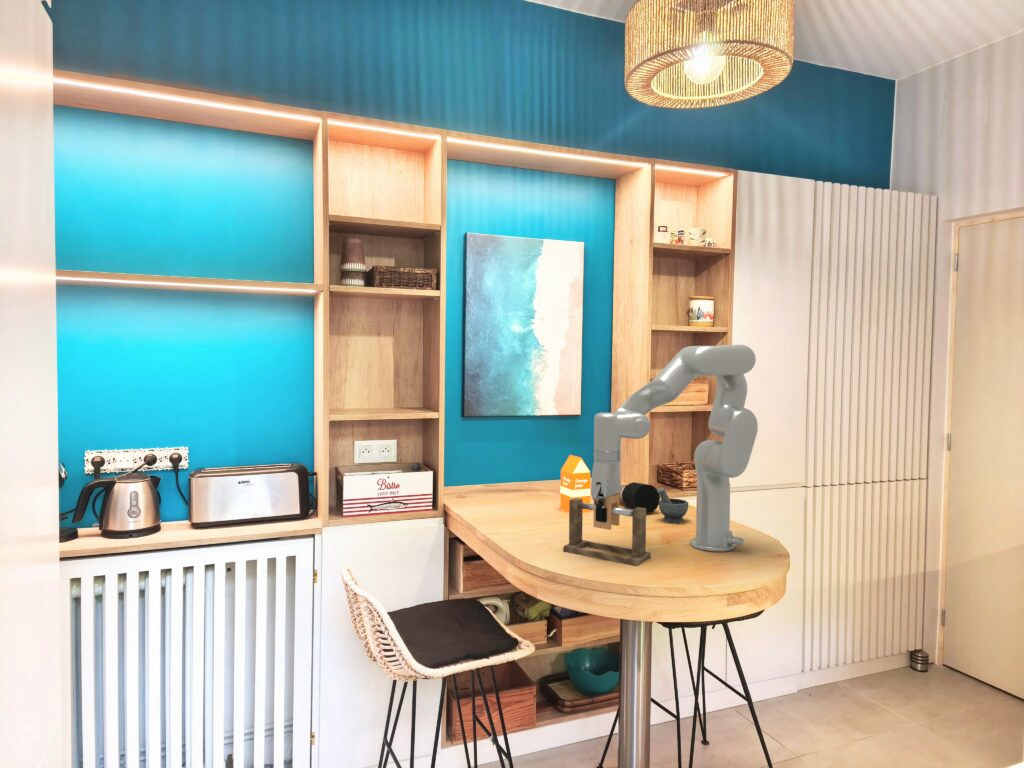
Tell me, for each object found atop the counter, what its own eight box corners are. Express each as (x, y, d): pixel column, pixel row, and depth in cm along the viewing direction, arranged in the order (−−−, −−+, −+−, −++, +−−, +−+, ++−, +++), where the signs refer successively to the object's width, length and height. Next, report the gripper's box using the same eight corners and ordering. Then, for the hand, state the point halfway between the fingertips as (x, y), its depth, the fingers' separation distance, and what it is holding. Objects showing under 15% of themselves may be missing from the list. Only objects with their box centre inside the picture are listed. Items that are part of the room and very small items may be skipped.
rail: (642, 517, 181) (642, 510, 181) (639, 518, 179) (640, 511, 179) (575, 506, 193) (575, 500, 193) (572, 507, 191) (572, 501, 191)
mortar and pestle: (677, 517, 231) (678, 483, 230) (693, 523, 222) (693, 488, 221) (649, 519, 227) (650, 485, 226) (664, 526, 218) (665, 490, 218)
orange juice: (571, 513, 235) (572, 458, 234) (560, 508, 243) (560, 455, 242) (590, 511, 238) (591, 457, 237) (578, 506, 246) (578, 454, 245)
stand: (650, 557, 184) (651, 506, 183) (637, 566, 176) (637, 512, 176) (578, 544, 197) (579, 496, 196) (563, 551, 189) (563, 501, 189)
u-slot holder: (619, 525, 187) (619, 493, 187) (609, 529, 182) (609, 497, 182) (603, 522, 190) (603, 491, 190) (593, 527, 185) (593, 495, 185)
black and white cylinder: (613, 506, 266) (622, 483, 268) (653, 517, 234) (664, 491, 235) (592, 496, 264) (602, 473, 266) (629, 506, 231) (640, 479, 233)
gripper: (609, 451, 195) (608, 511, 195) (580, 459, 180) (580, 523, 181) (632, 453, 190) (631, 515, 191) (605, 461, 176) (604, 527, 177)
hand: (606, 518), depth 186 cm, fingers closed on u-slot holder, 6 cm apart
